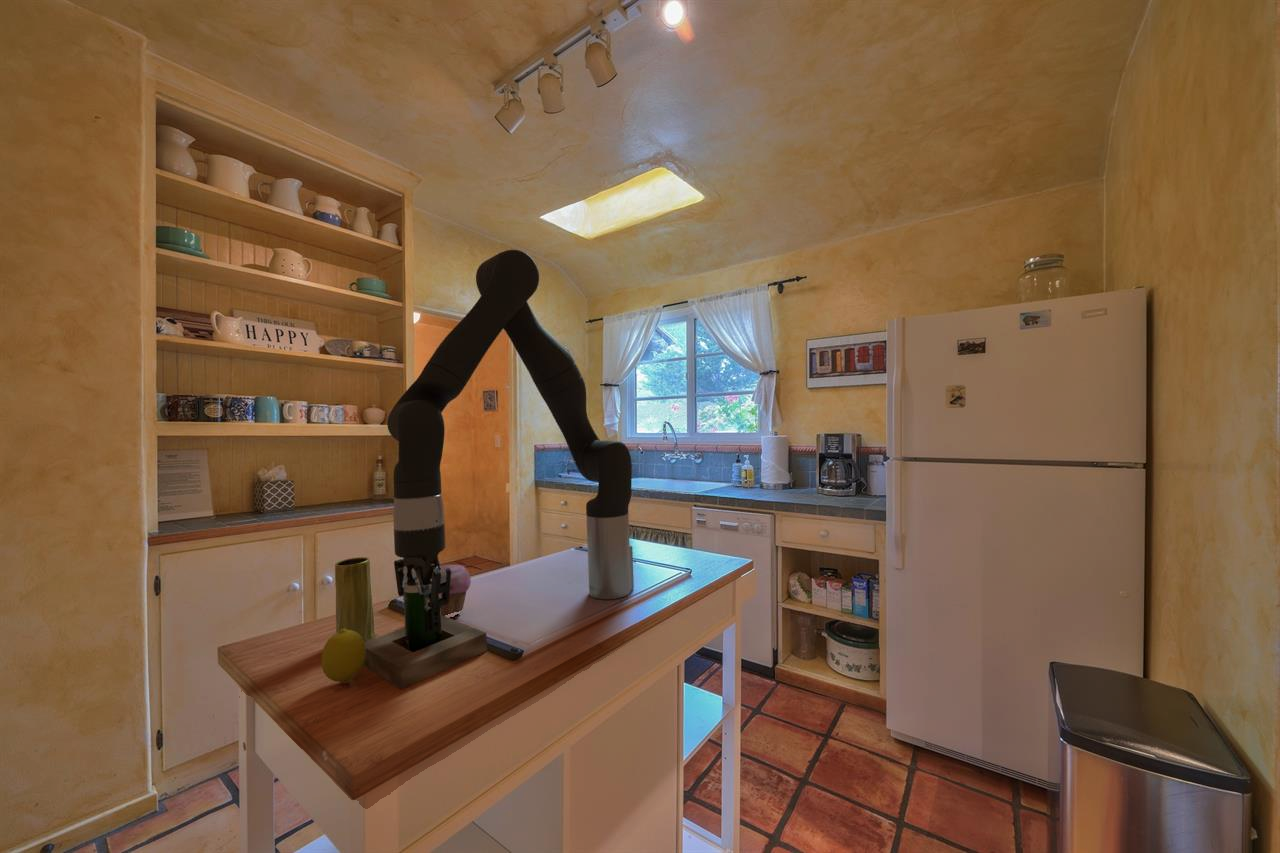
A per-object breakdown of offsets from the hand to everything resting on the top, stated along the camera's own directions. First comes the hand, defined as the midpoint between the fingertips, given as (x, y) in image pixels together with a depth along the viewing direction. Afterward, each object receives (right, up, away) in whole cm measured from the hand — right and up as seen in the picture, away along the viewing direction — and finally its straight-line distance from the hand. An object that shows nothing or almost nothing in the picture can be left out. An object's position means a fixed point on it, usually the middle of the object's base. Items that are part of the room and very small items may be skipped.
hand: (423, 626), depth 79 cm
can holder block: (0, -5, 0) cm, 5 cm away
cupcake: (-3, -5, +17) cm, 18 cm away
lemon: (-8, -5, -8) cm, 12 cm away
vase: (-15, -6, +7) cm, 17 cm away
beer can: (0, -5, 0) cm, 5 cm away
